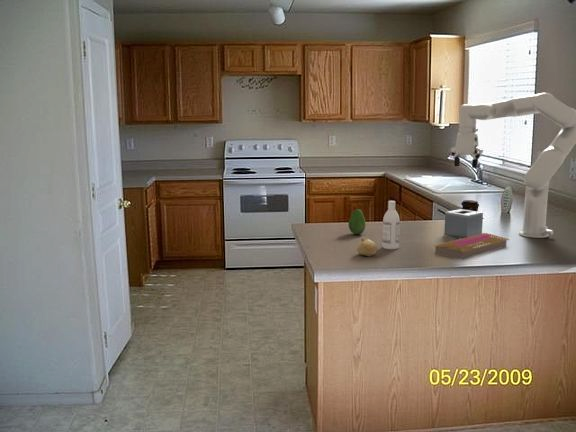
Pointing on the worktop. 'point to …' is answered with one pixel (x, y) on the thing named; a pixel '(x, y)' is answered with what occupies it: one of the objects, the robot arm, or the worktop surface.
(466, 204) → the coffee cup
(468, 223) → the box
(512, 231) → the worktop surface
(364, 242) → the onion
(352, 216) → the avocado
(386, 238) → the bath foam
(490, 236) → the brown and pink package
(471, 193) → the worktop surface
